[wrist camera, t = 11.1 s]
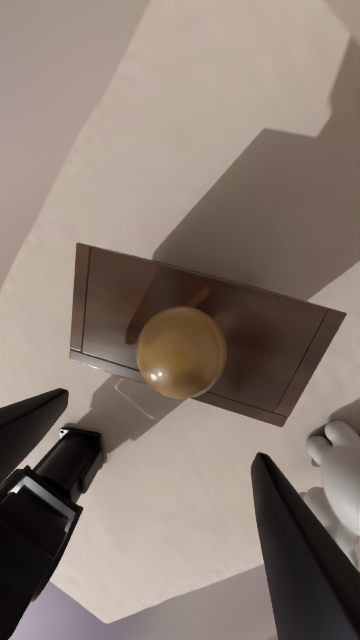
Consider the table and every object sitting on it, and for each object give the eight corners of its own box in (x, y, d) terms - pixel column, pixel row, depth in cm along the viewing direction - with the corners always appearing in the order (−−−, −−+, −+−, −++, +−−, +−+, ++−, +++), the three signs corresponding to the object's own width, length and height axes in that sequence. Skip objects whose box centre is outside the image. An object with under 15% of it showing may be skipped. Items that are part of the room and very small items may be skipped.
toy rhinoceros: (260, 464, 23) (291, 569, 15) (332, 406, 19) (425, 499, 11) (303, 494, 23) (359, 615, 15) (382, 441, 20) (510, 559, 11)
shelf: (346, 558, 5) (537, 367, 3) (-29, 421, 6) (-61, 210, 4) (244, 350, 19) (268, 290, 17) (134, 318, 20) (145, 258, 18)
